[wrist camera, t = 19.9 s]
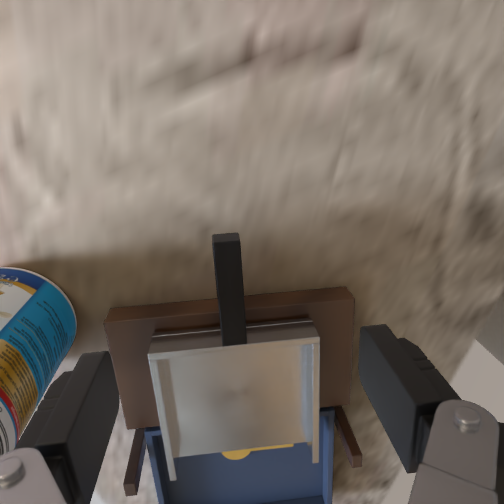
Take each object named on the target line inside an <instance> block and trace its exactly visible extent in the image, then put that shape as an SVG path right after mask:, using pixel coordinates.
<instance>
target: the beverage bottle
mask: <svg viewBox="0 0 504 504" xmlns="http://www.w3.org/2000/svg"><path fill="white" fill-rule="evenodd" d="M76 330H77V321H76V315H75V311H74V308H73V306H72V304H71V302H70V300H69V299H68V297H67V296H66V295H65V293H64V292H63V291H62V290H61V289H60V288H59V287H58V286H57V285H56V284H54V283H53V282H52V281H50V280H49V279H47V278H46V277H44V276H42V275H40V274H37V273H35V272H32V271H29V270H26V269H21V268H14V267H0V456H1V455H3V454H5V453H7V452H9V451H12V450H14V448H15V447H16V445H17V443H18V441H19V438H20V436H21V434H22V432H23V431H24V429H25V427H26V425H27V423H28V421H29V420H30V418H31V416H32V414H33V412H34V411H35V409H36V407H37V405H38V403H39V402H40V400H41V398H42V396H43V394H44V392H45V391H46V389H47V387H48V385H49V383H50V382H51V380H52V378H53V376H54V374H55V373H56V371H57V369H58V367H59V365H60V364H61V362H62V360H63V359H64V357H65V356H66V354H67V353H68V351H69V349H70V347H71V346H72V344H73V341H74V339H75V335H76Z"/></svg>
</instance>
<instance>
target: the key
mask: <svg viewBox="0 0 504 504" xmlns="http://www.w3.org/2000/svg"><path fill="white" fill-rule="evenodd" d="M284 447H293V444H286V445H277V446H269V447H260V448H252V449H244V450H235V451H227V452H222V454H223V455H224V456H225V457H226V458H228V459H232V460H238V459H242V458H244V457H246V456H247V455H248V454H249V453H250V451H257V450H266V449H275V448H284Z"/></svg>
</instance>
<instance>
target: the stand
mask: <svg viewBox="0 0 504 504" xmlns="http://www.w3.org/2000/svg"><path fill="white" fill-rule="evenodd" d="M244 303H245V317H246V324H250V323H260V322H270V321H280V320H291V319H301V318H311V319H312V321H313V323H314V325H315V327H316V330H317V332H318V334H319V336H320V383H319V408H322V407H331V406H337V407H333V408H334V410H335V415H334V422H335V425H336V427H337V430H338V433H339V435H340V438H341V441H342V443H343V446H344V448H345V451H346V454H347V456H348V459H349V462H350V464H351V467H352V468H355V467H361V466H362V453H361V451H360V448H359V446H358V444H357V441H356V439H355V436H354V434H353V432H352V429H351V427H350V425H349V422H348V420H347V417H346V415H345V413H344V410H343V408H342V406H340V405H349V404H350V390H351V369H352V347H353V325H354V303H355V299H354V297H353V296H352V294H351V293H350V291H349V290H348V289H347V287H336V288H325V289H314V290H303V291H293V292H282V293H271V294H260V295H250V296H244ZM219 326H220V317H219V307H218V298H217V299H207V300H196V301H185V302H175V303H164V304H153V305H142V306H132V307H121V308H111V309H110V310H109V312H108V314H107V317H106V319H105V321H104V327H105V332H106V336H107V341H108V345H109V350H110V354H111V359H112V363H113V368H114V372H115V376H116V381H117V385H118V390H119V395H120V399H121V404H122V408H123V413H124V417H125V422H126V426H127V429H128V430H129V429H136V431H135V435H134V439H133V444H132V448H131V453H130V457H129V461H128V466H127V470H126V474H125V479H124V483H123V486H124V490H125V494H126V496H133V495H137V492H138V487H139V481H140V476H141V471H142V465H143V460H144V455H145V449H146V444H147V443H146V438H145V433H144V432H145V428H146V427H155V426H160V421H159V416H158V410H157V405H156V399H155V394H154V388H153V382H152V377H151V371H150V366H149V360H148V355H147V354H148V350H149V346H150V343H151V339H152V335H153V333H158V332H168V331H178V330H189V329H199V328H209V327H219ZM137 428H142V429H137Z"/></svg>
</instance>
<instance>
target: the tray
mask: <svg viewBox="0 0 504 504" xmlns="http://www.w3.org/2000/svg"><path fill="white" fill-rule="evenodd" d="M334 415H335V410H334V408H333V406H331V407H322V408H319V463H312V460H311V456H310V452H309V449H308V445H307V442H302V443H294V444H293V447H284V448H275V449H266V450H257V451H250V453H249V454H248V455H247V456H246V457H244V458H242V459H238V460H232V459H228V458H226V457H225V456H224V455H223V454H222V452H218V453H210V454H202V455H193V456H185V457H179V462H178V473H177V480H175V481H170V477H169V472H168V466H167V461H166V455H165V449H164V444H163V438H162V433H161V427H160V426H155V427H146V428H145V432H144V433H145V438H146V443H147V448H148V453H149V458H150V462H151V467H152V472H153V477H154V482H155V487H156V492H157V497H158V502H159V504H332V486H333V451H334Z"/></svg>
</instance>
